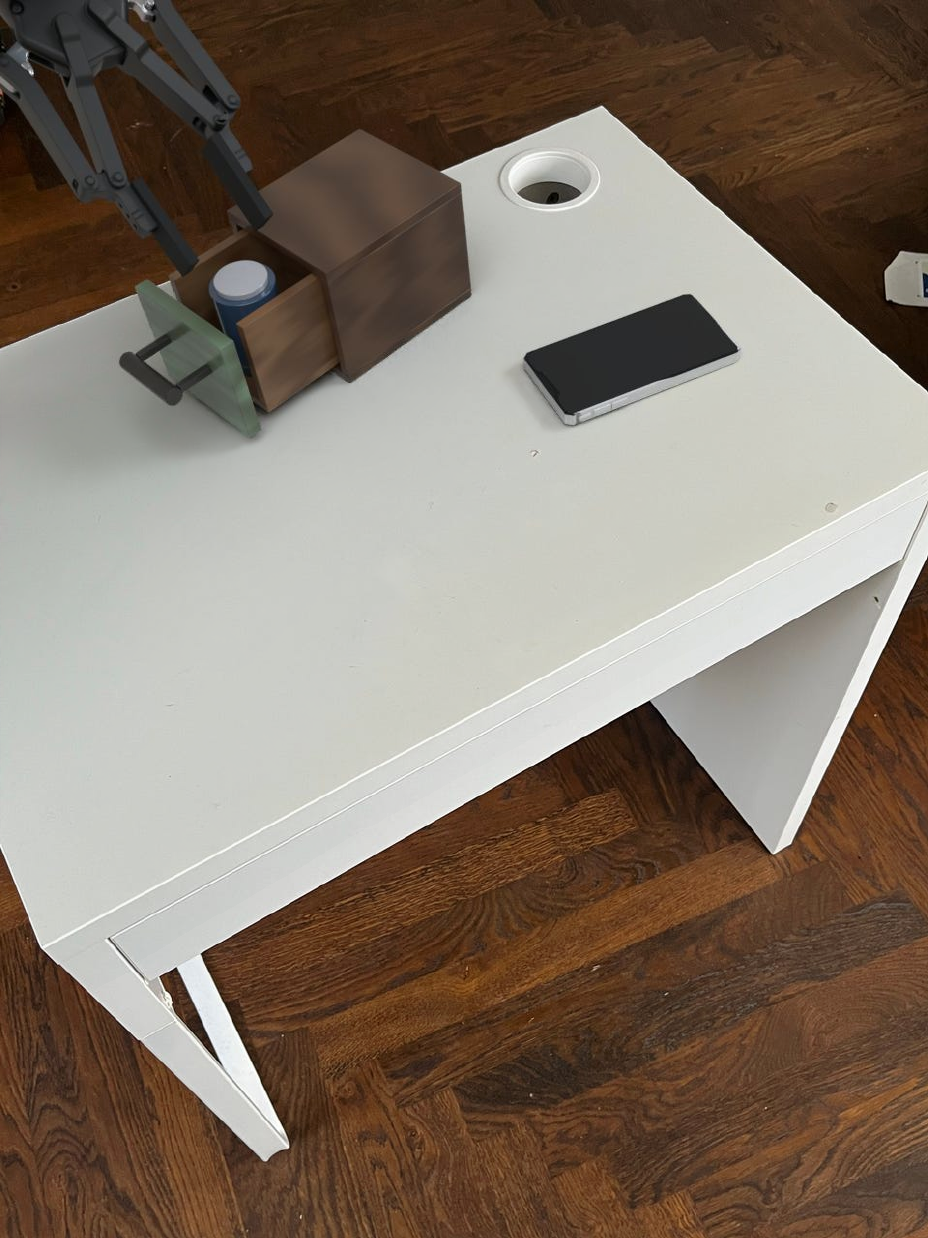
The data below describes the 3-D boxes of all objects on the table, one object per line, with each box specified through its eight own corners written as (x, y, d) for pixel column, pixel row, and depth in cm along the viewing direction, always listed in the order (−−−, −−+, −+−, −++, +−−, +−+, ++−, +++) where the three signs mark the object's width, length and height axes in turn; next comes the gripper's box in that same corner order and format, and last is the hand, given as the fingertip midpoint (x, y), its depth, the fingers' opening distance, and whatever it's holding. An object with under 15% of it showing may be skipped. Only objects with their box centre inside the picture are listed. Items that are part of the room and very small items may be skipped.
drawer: (205, 470, 85) (171, 381, 78) (125, 405, 90) (86, 316, 82) (372, 351, 91) (354, 258, 84) (288, 295, 96) (265, 204, 88)
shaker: (258, 387, 88) (235, 309, 82) (219, 358, 90) (192, 280, 84) (307, 352, 90) (288, 273, 84) (267, 325, 92) (245, 246, 86)
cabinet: (350, 383, 90) (325, 273, 82) (258, 320, 95) (226, 210, 87) (472, 295, 95) (461, 182, 86) (378, 240, 100) (359, 128, 92)
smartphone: (744, 350, 87) (568, 418, 84) (742, 362, 88) (568, 430, 85) (688, 290, 92) (520, 353, 89) (687, 302, 93) (520, 365, 90)
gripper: (123, -87, 82) (312, 200, 88) (-112, 25, 75) (110, 327, 81) (142, -152, 76) (346, 163, 81) (-114, -36, 69) (128, 299, 75)
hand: (227, 244), depth 81 cm, fingers open, 6 cm apart
